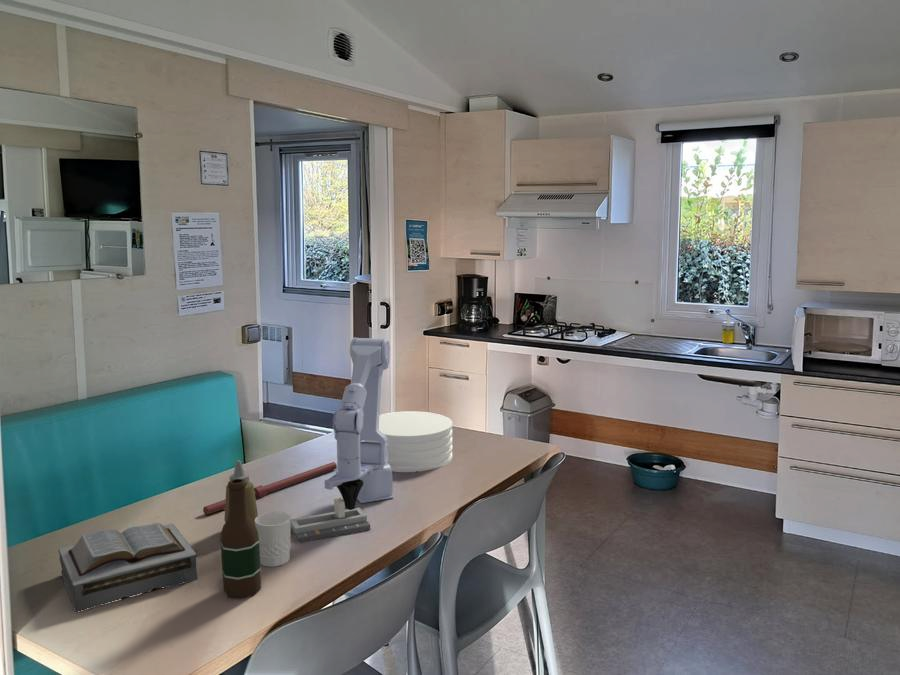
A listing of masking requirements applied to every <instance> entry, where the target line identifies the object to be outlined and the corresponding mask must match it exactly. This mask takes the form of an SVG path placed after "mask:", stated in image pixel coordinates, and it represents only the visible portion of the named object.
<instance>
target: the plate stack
mask: <svg viewBox="0 0 900 675" xmlns="http://www.w3.org/2000/svg"><path fill="white" fill-rule="evenodd" d="M379 431H380V432H382V433H383V434H384V435H385V436H386V437H387V438H388V447H389V458H388V462H387V463H388V464H389V465H390V467H391V470H392V472H395V473H397V472H399V473H415V472H416V471H418V472H424V471H431V470H435V469H438V468H441V467H445V466H446V465H448V464H449V463H451V462H452V460H453V420H452V419H451V418H450V417H447V416H445V415H443V414H438V413H434V412H429V411H428V412H427V411H417V410H416V411H415V410H413V411H412V410H411V411H410V410H409V411H408V410H407V411H405V410H403V411H394V412H393V411H392V412H387V413H381V414H380V416H379ZM363 442H376V443H379V442H378V441H370V440H363Z"/></svg>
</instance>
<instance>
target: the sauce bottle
mask: <svg viewBox="0 0 900 675" xmlns="http://www.w3.org/2000/svg"><path fill="white" fill-rule="evenodd" d="M227 485H228V488H229V514H228V519H227V521H226V522H224V524H223V526H222V529H221V532H220V555H221V572H222V575H221V576H222V586H223V587H222V588H223V591H224V593H225V596H226V597H227V598H229V599H235V600H242V599H247V598H251V597H254V596H255V595H256V594H257V593H259V591H260V590H261V589H262V577H261V576H262V575H261V572H262V571H261V563H260V548H259V536H258V531H257V529H256V526H255V524H254V523H253V521H252V520H251V519H250V517H249V514H248V508H247V500H246V491H245V486H247V485H246V482H245V480H244V479H233V480H231V481H230V480H229V481H228V483H227Z"/></svg>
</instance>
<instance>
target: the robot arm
mask: <svg viewBox="0 0 900 675" xmlns="http://www.w3.org/2000/svg"><path fill="white" fill-rule="evenodd" d="M390 350H391V346H390V342H389V340H388V339H387V338H385V337H384V338H372V337H370V338H368V337H355V336H354V337H353V338H352V339H351V341H350V345H349V355H350V359H351V361H352V363H353V368H352V374H351V379H350V384H348V385H346V386H345V387H344V391H343V395H342V399H341V402H340V405H339V408H338V410H336V411H334V414H333V418H332V429H333V432H334V439H335V440H336V455H337V456H336V457H337V458H336V459H337V461H336V462H337V463H336V465H337V470H336V472H335V474H334V475H332V476H331V477H330V478H329V477H328V478H327V479H325V480H324V489H327V490H329V491H330V490H333V489H334V488H335V487H336V488H337V489H338V491H339V493H340V495H341V498H342V499H343V501H344V504H345V510H348V509H349V510H353V509H355V508H356V503H357V501H358V502H359V503H360V504H364V503H365V504H367V503H370V502H376V501H383V500H389V499H394V495H393V494H394V493H393V490H394V488H393V471H392V470H391V467H390V465H389V464H388V463H387V462H388V458H389V447H388V438H387V437H386V436H385V435H384V434H383V433H382V432H380V431H379V416H380V415H381V414H380V413H381V412H380V411H381V397H382V396H381V394H382V393H381V392H382V379H383V378H382V377H383V372H384V371H385V370H387V369H388V368H389V365H390V355H391V351H390ZM364 440H370V441H378V442H379V443H376V442H364Z"/></svg>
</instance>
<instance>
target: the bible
mask: <svg viewBox="0 0 900 675" xmlns="http://www.w3.org/2000/svg"><path fill="white" fill-rule="evenodd" d="M58 554H59V562H60V565H61V579H62V578H63V579H62V582H63V581H64V582H63V584H64V583H65V585H64V587H65V586H66V587H65V589H66V590H67V594H68V593H69V594H68V597H69V596H70V597H69V599H70V602H71V601H72V602H71V604H72V606H74V607H73V609H74V608H75V609H74V611H75V613H76V612H77V613H79V612H78V611H80V612H82V611H81V610H84V611H86V610H85V609H87V608H91V607H94V606H98V605H101V604H105V603H108V602H112V601H115V600H119V599H122V600H123V598H129V596H133V595H137V594H140V593H143V594H145V593H148V592H147V591H150V590H151V591H152V590H153V589H163V588H162V587H165V588H166V586H170V587H173V586H172V585H174V586H176V584H177V585H181V584H184V583H183V582H185V583H187V581H188V582H192V581H196V580H198V578H199V577H198V569H197V552H196V551H195V550H194V549H193V547H192V546H191V545H190V543H189V542H188V541H187V539H186V538H185V537H184V536H183V535H182V534H181V533H180V531H179V530H178V528H177V527H176V526H175V524H174V523H168V524H167V523H166V524H161V523H160V522H154V523H149V524H143V525H137V526H130V527H128V528H126V529H124V530H123V531H122V532H120V531H119V530H118V529H115V528H106V529H100V530H97V531H93V532H89V533H84V534H82V535H80V538H79V539H78V541H77V542H76V543H75V544H72V545H69V546H64V547H61V548H59V549H58ZM180 583H181V584H180ZM151 591H150V592H151ZM144 592H145V593H144ZM101 606H102V605H101ZM98 607H99V606H98ZM91 609H92V608H91Z"/></svg>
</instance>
